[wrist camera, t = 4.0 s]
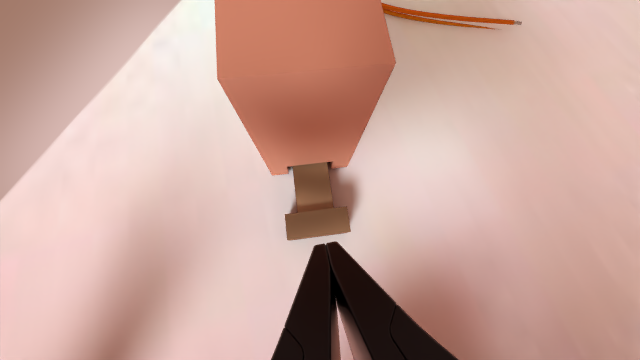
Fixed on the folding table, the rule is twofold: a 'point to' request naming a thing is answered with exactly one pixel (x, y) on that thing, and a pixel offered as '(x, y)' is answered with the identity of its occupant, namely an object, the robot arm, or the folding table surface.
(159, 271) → the folding table surface
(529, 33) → the folding table surface
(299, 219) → the rail
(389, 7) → the motor
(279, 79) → the block
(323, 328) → the robot arm
